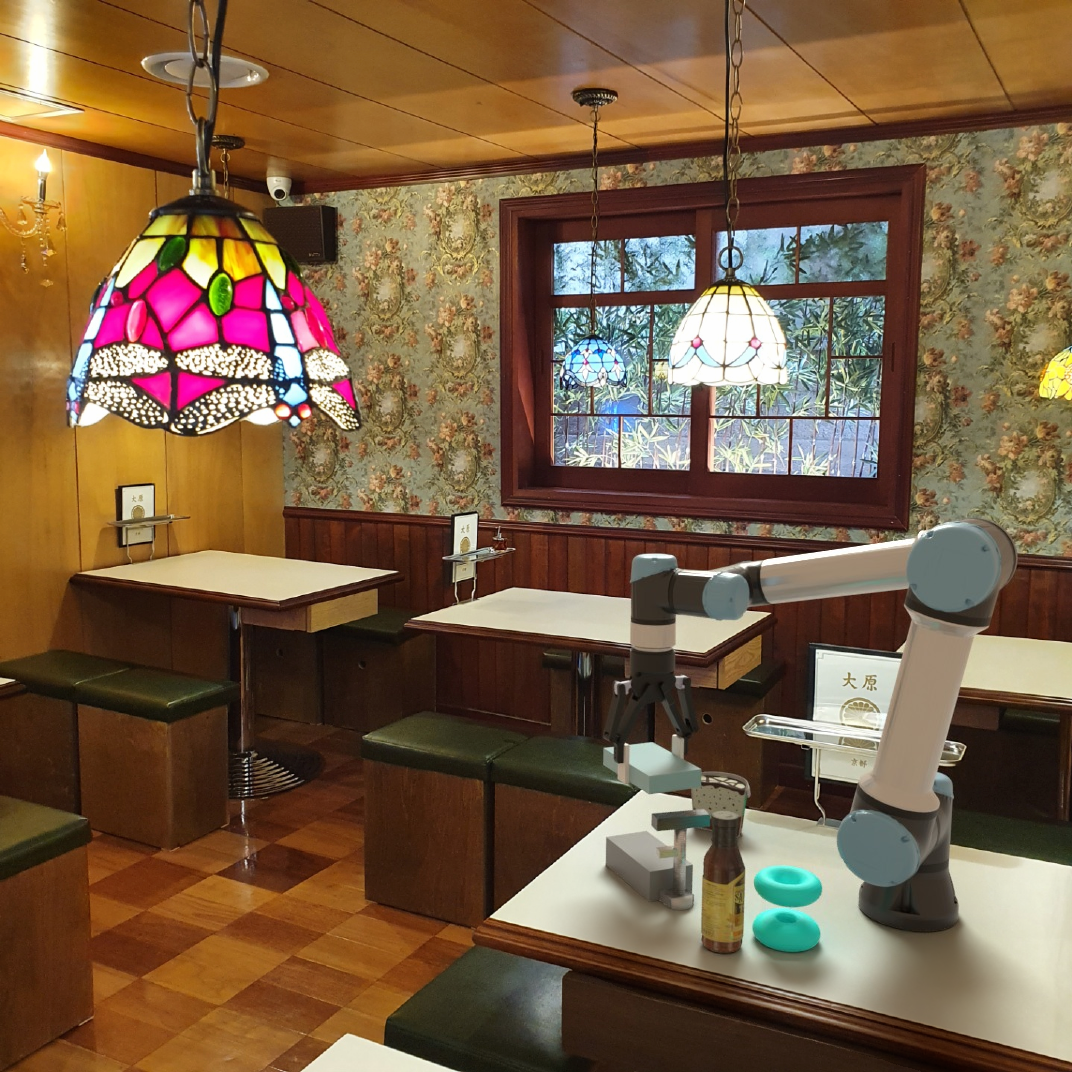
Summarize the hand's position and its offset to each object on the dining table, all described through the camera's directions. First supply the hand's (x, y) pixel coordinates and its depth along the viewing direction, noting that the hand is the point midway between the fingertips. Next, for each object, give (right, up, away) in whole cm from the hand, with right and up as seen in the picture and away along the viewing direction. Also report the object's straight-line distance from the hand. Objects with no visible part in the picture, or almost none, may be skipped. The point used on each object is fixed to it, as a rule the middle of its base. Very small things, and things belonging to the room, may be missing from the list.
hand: (650, 777), depth 184 cm
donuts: (+18, -20, -19) cm, 33 cm away
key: (+4, -17, -8) cm, 19 cm away
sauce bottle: (+8, -20, -21) cm, 31 cm away
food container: (+17, -16, +26) cm, 35 cm away
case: (+1, -18, 0) cm, 18 cm away
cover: (0, 0, 0) cm, 0 cm away
